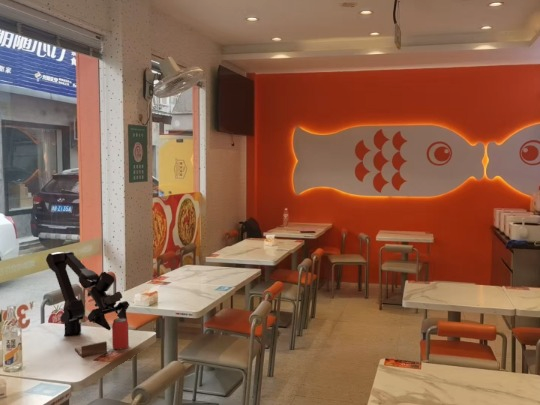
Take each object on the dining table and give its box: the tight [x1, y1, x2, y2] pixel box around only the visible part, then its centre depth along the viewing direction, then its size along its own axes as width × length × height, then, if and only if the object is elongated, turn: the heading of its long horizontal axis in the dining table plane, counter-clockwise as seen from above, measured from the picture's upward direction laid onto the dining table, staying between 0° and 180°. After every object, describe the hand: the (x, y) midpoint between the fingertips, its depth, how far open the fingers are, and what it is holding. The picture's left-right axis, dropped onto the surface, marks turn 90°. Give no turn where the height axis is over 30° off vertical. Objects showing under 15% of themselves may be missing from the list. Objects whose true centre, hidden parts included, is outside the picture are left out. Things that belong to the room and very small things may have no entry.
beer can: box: [111, 317, 130, 350], centre depth 234 cm, size 7×7×12 cm
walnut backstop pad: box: [74, 340, 108, 358], centre depth 230 cm, size 11×10×4 cm
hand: (118, 327), depth 234 cm, fingers open, 9 cm apart
